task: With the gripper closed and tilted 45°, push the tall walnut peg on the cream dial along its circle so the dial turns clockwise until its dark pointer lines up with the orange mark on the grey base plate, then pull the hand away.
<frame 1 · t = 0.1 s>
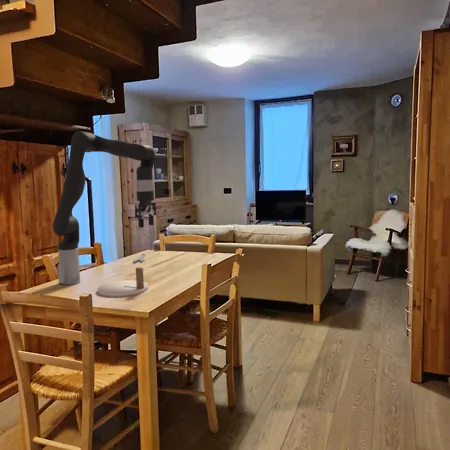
hand: (146, 226, 186), 29 cm above the table, tool pointing down, fingers open, 8 cm apart
dial plate: (123, 292, 186), on the table
dial: (122, 278, 185), point 6 cm above the table, hinge at 0.0°
adjustable wrench: (141, 260, 262), on the table
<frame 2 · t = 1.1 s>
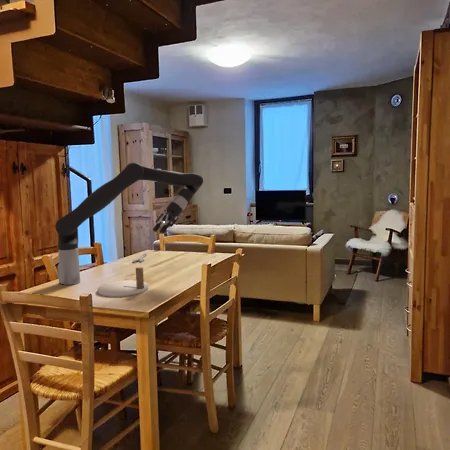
hand: (157, 231, 202), 25 cm above the table, tool tilted 45°, fingers open, 7 cm apart
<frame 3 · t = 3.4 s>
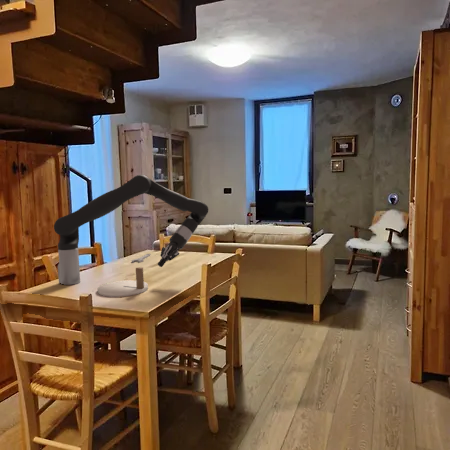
hand: (159, 265, 191), 10 cm above the table, tool tilted 45°, fingers closed
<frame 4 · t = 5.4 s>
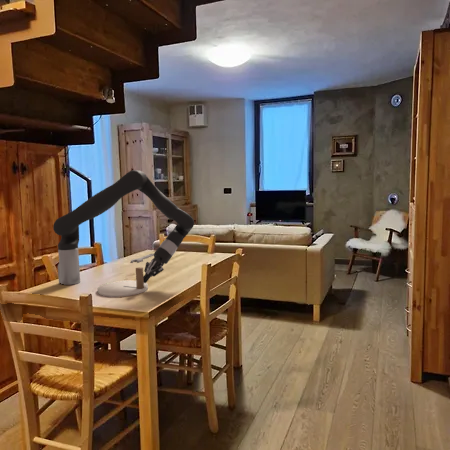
hand: (143, 282, 184), 5 cm above the table, tool tilted 45°, fingers closed
dial: (122, 278, 185), point 6 cm above the table, hinge at -0.1°, touching gripper
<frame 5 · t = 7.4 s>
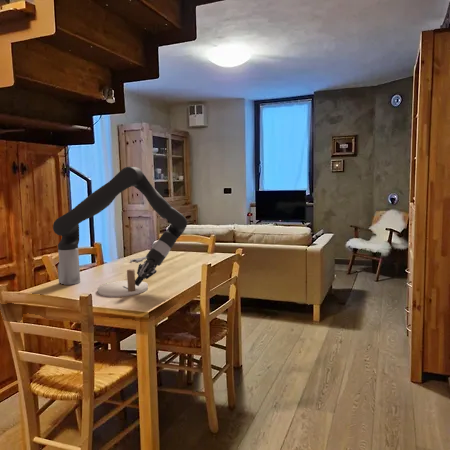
hand: (135, 284, 179), 5 cm above the table, tool tilted 45°, fingers closed
dial: (122, 278, 185), point 6 cm above the table, hinge at -31.4°, touching gripper
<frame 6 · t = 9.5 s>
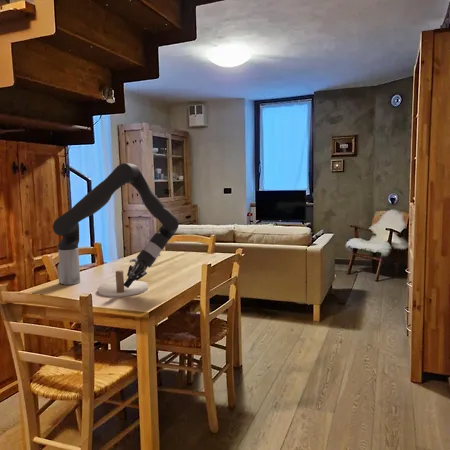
hand: (125, 286, 177), 5 cm above the table, tool tilted 45°, fingers closed
dial: (122, 278, 185), point 6 cm above the table, hinge at -62.0°, touching gripper
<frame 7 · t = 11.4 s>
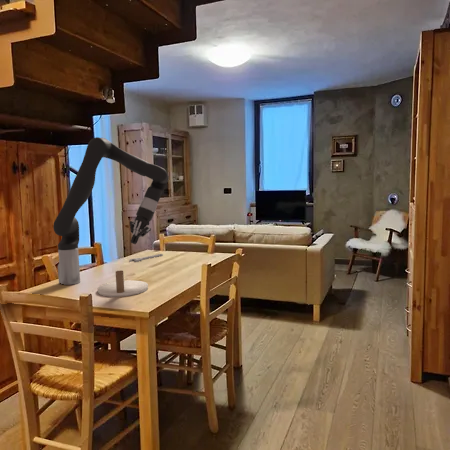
hand: (133, 243, 189), 21 cm above the table, tool tilted 25°, fingers closed
dial: (122, 278, 185), point 6 cm above the table, hinge at -62.0°
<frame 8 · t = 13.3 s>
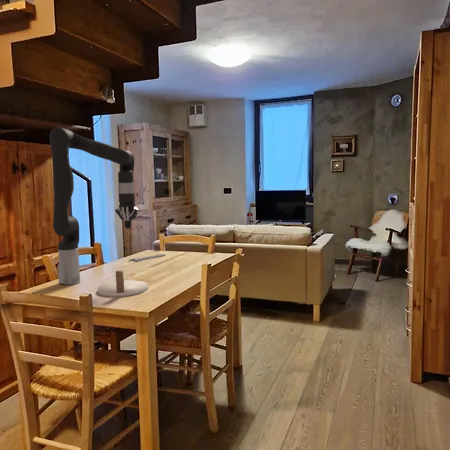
hand: (128, 228, 198), 27 cm above the table, tool pointing down, fingers closed
at the end: dial at -62° (first picture: +0°) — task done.
